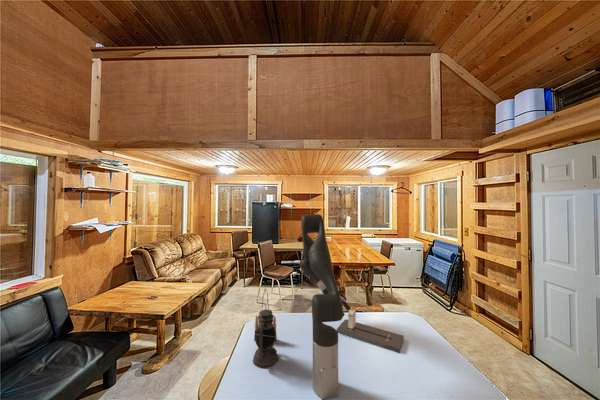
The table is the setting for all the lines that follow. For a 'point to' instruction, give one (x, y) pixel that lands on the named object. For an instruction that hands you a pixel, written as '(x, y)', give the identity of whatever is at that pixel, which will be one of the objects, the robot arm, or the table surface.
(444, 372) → the table surface
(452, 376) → the table surface
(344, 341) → the table surface
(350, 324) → the fader cap
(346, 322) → the grey fader track base
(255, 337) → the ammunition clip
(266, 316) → the lantern
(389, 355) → the table surface
